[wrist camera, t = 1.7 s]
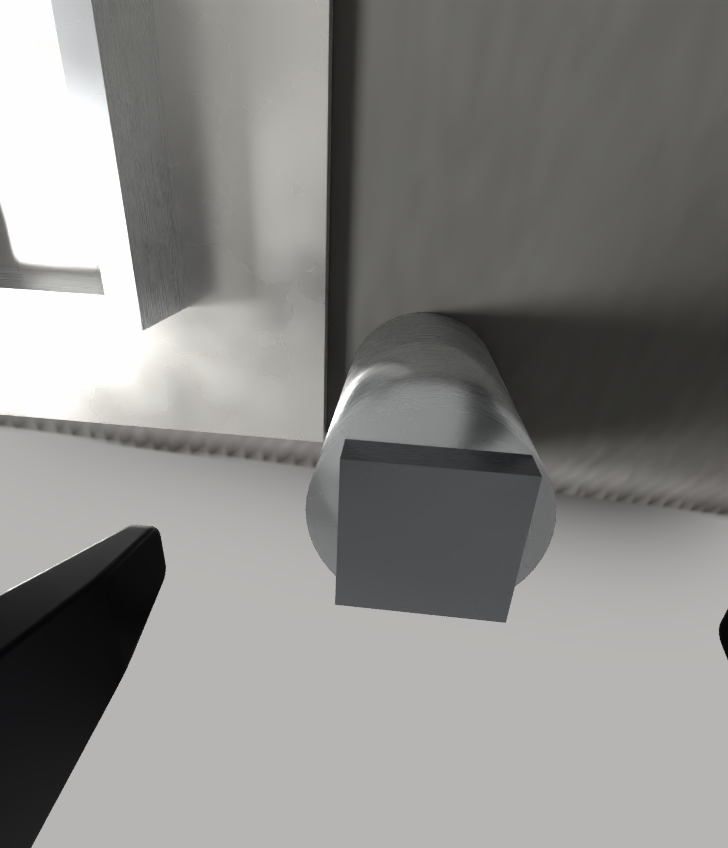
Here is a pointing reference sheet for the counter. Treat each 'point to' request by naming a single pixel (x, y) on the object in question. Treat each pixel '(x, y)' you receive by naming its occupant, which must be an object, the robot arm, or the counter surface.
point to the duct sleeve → (428, 478)
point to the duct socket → (166, 213)
